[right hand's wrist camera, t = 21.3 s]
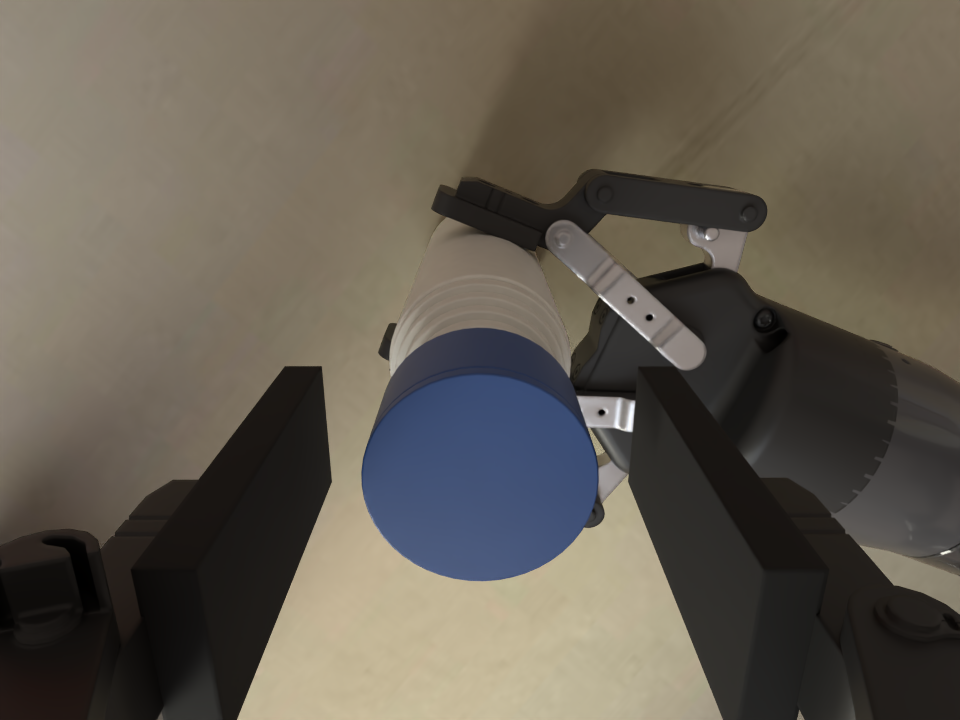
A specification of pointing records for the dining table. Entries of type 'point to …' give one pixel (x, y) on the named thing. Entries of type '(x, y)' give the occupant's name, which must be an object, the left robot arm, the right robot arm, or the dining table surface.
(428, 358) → the cap
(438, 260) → the bottle
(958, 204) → the dining table surface
